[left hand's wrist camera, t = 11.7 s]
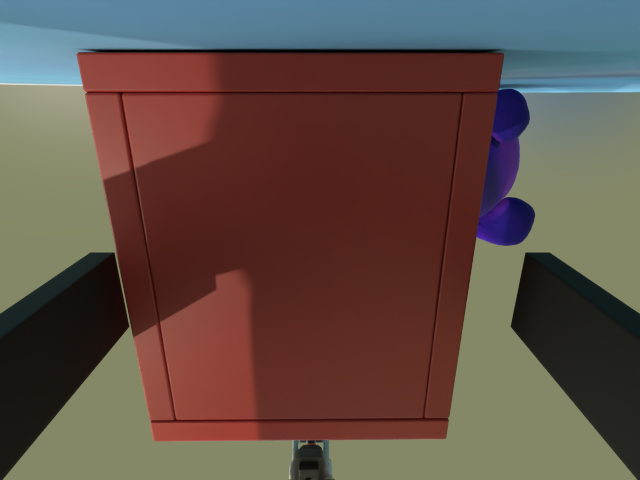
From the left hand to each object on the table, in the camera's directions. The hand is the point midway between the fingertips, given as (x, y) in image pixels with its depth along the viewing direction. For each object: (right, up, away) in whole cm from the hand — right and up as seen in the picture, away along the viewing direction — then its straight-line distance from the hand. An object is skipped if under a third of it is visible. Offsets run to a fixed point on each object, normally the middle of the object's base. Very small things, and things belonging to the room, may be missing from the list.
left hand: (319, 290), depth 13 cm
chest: (-1, +9, +4) cm, 10 cm away
